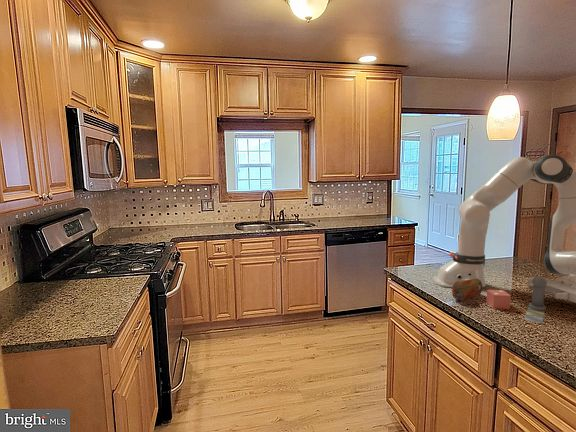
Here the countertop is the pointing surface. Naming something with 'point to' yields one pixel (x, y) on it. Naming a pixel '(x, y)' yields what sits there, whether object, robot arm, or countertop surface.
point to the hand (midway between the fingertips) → (541, 291)
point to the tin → (466, 289)
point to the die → (498, 299)
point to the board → (533, 318)
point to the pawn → (538, 294)
